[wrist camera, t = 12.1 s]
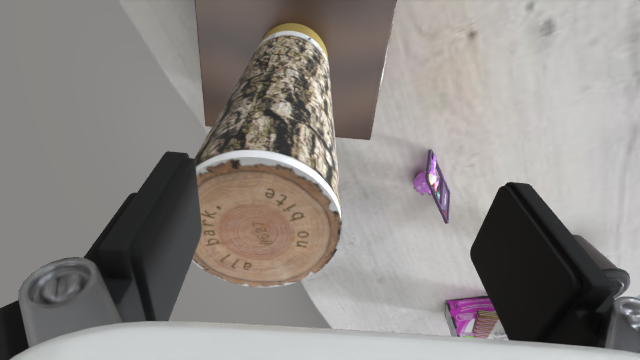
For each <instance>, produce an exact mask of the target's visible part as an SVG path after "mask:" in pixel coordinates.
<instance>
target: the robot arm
mask: <svg viewBox="0 0 640 360" xmlns="http://www.w3.org/2000/svg"><path fill="white" fill-rule="evenodd" d="M201 233H202V224H201V214H200V204H199V194H198V184H197V174H196V164H195V160H194V159H192V158H189V156H188V154H187V153H179V152H166V153H165V154H164V155H163V157H162V158H161V160H160V161H159V163H158V164H157V165H156V167H155V168H154V170H153V171H152V172H151V174H150V175H149V177H148V178H147V180H146V181H145V183H144V184H143V185H142V187H141V188H140V190H139V191H138V192H137V193H132V194H130V195H129V196H128V197H127V199H126V200H125V201H124V203H123V204H122V206H121V207H120V208H119V210H118V211H117V213H116V214H115V215H114V217H113V218H112V219H111V221H110V222H109V224H108V225H107V226H106V228H105V229H104V230H103V232H102V233H101V234H100V236H99V237H98V239H97V240H96V241H95V243H94V244H93V245H92V247H91V248H90V250H89V251H88V253H87V254H86V255H85V256H84V258H79V257H73V258H64V259H60V260H56V261H53V262H51V263H48V264H46V265H44V266H42V267H40V268H39V269H38V270H36V271H35V272H33V273H31V275H30V276H29V277H28V278H27V279H26V280H25V281H24V282H23V284H22V285H21V287H20V289H19V295H18V296H19V297H18V301H15V302H13V303H11V304H9V305H6V306H4V307H2V308H0V360H640V299H637V298H633V297H620V298H617V299H616V300H614V298H613V297H612V296H611V295H610V294H611V293H612V292H613V290H614V289H615V288H616V287H615V285H614V284H613V283H612V282H611V281H610V279H609V278H608V277H607V276H606V275H605V273H604V272H603V271H602V270H601V269H600V267H599V266H598V265H597V264H596V263H595V262H594V260H593V259H592V258H591V257H590V256H589V254H588V253H587V252H586V251H585V250H584V248H583V247H582V246H581V245H580V244H579V242H578V241H577V240H576V239H575V238H574V236H573V235H572V234H571V233H570V232H569V231H568V229H567V228H566V227H565V226H564V225H563V223H562V222H561V221H560V220H559V219H558V217H557V216H556V215H555V214H554V213H553V211H552V210H551V209H550V208H549V207H548V205H547V204H546V203H545V202H544V201H543V200H542V198H541V197H540V196H539V195H538V194H537V192H536V191H535V190H534V189H533V188H532V186H531V185H529V184H525V183H514V182H509V183H507V184H506V185H505V186H502V187H500V188H499V190H498V192H497V194H496V196H495V198H494V200H493V203H492V205H491V207H490V209H489V211H488V213H487V215H486V217H485V220H484V222H483V224H482V226H481V228H480V230H479V232H478V235H477V237H476V239H475V241H474V243H473V245H472V247H471V251H470V256H471V260H472V262H473V264H474V266H475V268H476V271H477V273H478V275H479V277H480V279H481V281H482V283H483V286H484V288H485V290H486V292H487V294H488V296H489V299H490V301H491V303H492V305H493V307H494V309H495V311H496V314H497V316H498V318H499V320H500V322H501V324H502V326H503V329H504V331H505V333H506V335H507V337H508V339H509V340H498V339H483V338H469V337H454V336H439V335H423V334H407V333H391V332H375V331H359V330H343V329H325V328H307V327H290V326H273V325H255V324H235V323H212V322H186V321H168V320H169V317H170V315H171V312H172V310H173V307H174V305H175V302H176V300H177V297H178V294H179V292H180V289H181V286H182V284H183V282H184V279H185V276H186V274H187V271H188V269H189V266H190V264H191V261H192V259H193V256H194V253H195V251H196V248H197V246H198V243H199V241H200V238H201Z"/></svg>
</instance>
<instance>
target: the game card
mask: <svg viewBox="0 0 640 360" xmlns="http://www.w3.org/2000/svg"><path fill="white" fill-rule="evenodd" d="M431 157H432V159H433V162H432V167H431V170H430V164H431ZM435 166H436V169H437V171H438V173H439V176H440V178H441V186H440V196H439V192H438V190H436V187H437V186H438V177H437V176H436V174H435V173H434V172H435ZM413 188H414V189H416V191H418V192H420V193H421V194H422V195H423V193H424V192H427V193H428V194H429V195H430V194H431V193H432V195H433V198H434V200H435V202H436V204H437V206H438V209H439V211H440V213H441V215H442V217H443V219H444V222H445V224H446V223H448V221H449V203H450V191H449V189H448V186H447V184H446V182H445V179H444V177H443V175H442V172H441V170H440V168H439V165H438V163H437V160H436V158H435V155H434V153H433V151H432V149H431V150H429V153H428V160H427V168H426V172H421V173H419V174H418V175H417V176H416V178H415V180H414V187H413ZM435 193H436V194H435Z"/></svg>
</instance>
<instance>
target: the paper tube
mask: <svg viewBox="0 0 640 360" xmlns="http://www.w3.org/2000/svg"><path fill="white" fill-rule="evenodd" d="M194 160H195V164H196V174H197V184H198V194H199V204H200V214H201V224H202V233H201V238H200V241H199V243H198V246H197V248H196V251H195V253H194V256H193V259H192V261H193V262H194V263H195V264H196V265H198V266H199V267H200V268H202V269H203V270H205V271H207V272H208V273H210V274H212V275H214V276H216V277H218V278H220V279H222V280H225V281H228V282H231V283H235V284H239V285H244V286H250V287H278V286H284V285H288V284H292V283H296V282H299V281H301V280H304V279H306V278H308V277H310V276H312V275H313V274H315V273H316V272H318V271H319V270H320V269H322V268H323V267H324V266H325V265H326V264H327V263H328V262H329V261H330V260H331V258H332V257H333V256H334V254H335V252H336V250H337V248H338V246H339V243H340V240H341V234H342V212H341V201H340V189H339V178H338V166H337V154H336V143H335V131H334V120H333V108H332V96H331V85H330V73H329V64H328V55H327V50H326V47H325V45H324V43H323V41H322V40H321V38H320V37H319V36H318V35H317V34H316V33H315V32H314V31H313V30H311V29H310V28H308V27H306V26H304V25H301V24H296V23H286V24H282V25H279V26H276V27H275V28H273V29H271V30H270V31H269V32H268V33H267V34H266V35H265V36H264V37H263V39H262V40H261V42H260V44H259V46H258V47H257V49H256V51H255V52H254V54H253V56H252V58H251V59H250V61H249V63H248V65H247V67H246V68H245V70H244V72H243V74H242V75H241V77H240V79H239V81H238V83H237V84H236V86H235V88H234V90H233V91H232V93H231V95H230V97H229V99H228V100H227V102H226V104H225V106H224V107H223V109H222V111H221V113H220V115H219V116H218V118H217V120H216V122H215V123H214V125H213V127H212V129H211V131H210V132H209V134H208V136H207V138H206V139H205V141H204V143H203V145H202V147H201V149H200V150H199V152H198V154H197V156H196V157H195V159H194Z"/></svg>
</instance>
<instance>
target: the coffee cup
mask: <svg viewBox="0 0 640 360" xmlns="http://www.w3.org/2000/svg"><path fill="white" fill-rule="evenodd" d="M573 236H574V238H575V239H576V240H577V241H578V242H579V244H580V245H581V246H582V247H583V248H584V250H585V251H586V252H587V253H588V254H589V256H590V257H591V258H592V259H593V260H594V262H595V263H596V264H597V265H598V266H599V267H600V269H601V270H602V271H603V272H604V273H605V275H606V276H607V277H608V278H609V279H610V281H611V282H612V283H613V284H614V285H615V287H616V288H615V289H614V290H613V292H612V293H611V294H610V295H611V296H612V297H613V298H614V299H615V298H617V297H619V296H620V295H622V294H623V293H624V292H625V291H626V290H627V289H628V287H629V285H630V277H629V274H628V273H627V272H626V271H625V270H622V269H619V268H617V267H616V266H615V265H614V264H613V263H612V262H610V261H609V260H608V259H607V258H606V257H605V256H604V255H602V254H601V253H600V252H599V251H598V250H597V249H596V248H594V247H593V246H592V245H591V244H590V243H589V242H588V241H586V240H585V239H584V238H583V237H581V236H578V235H573Z"/></svg>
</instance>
